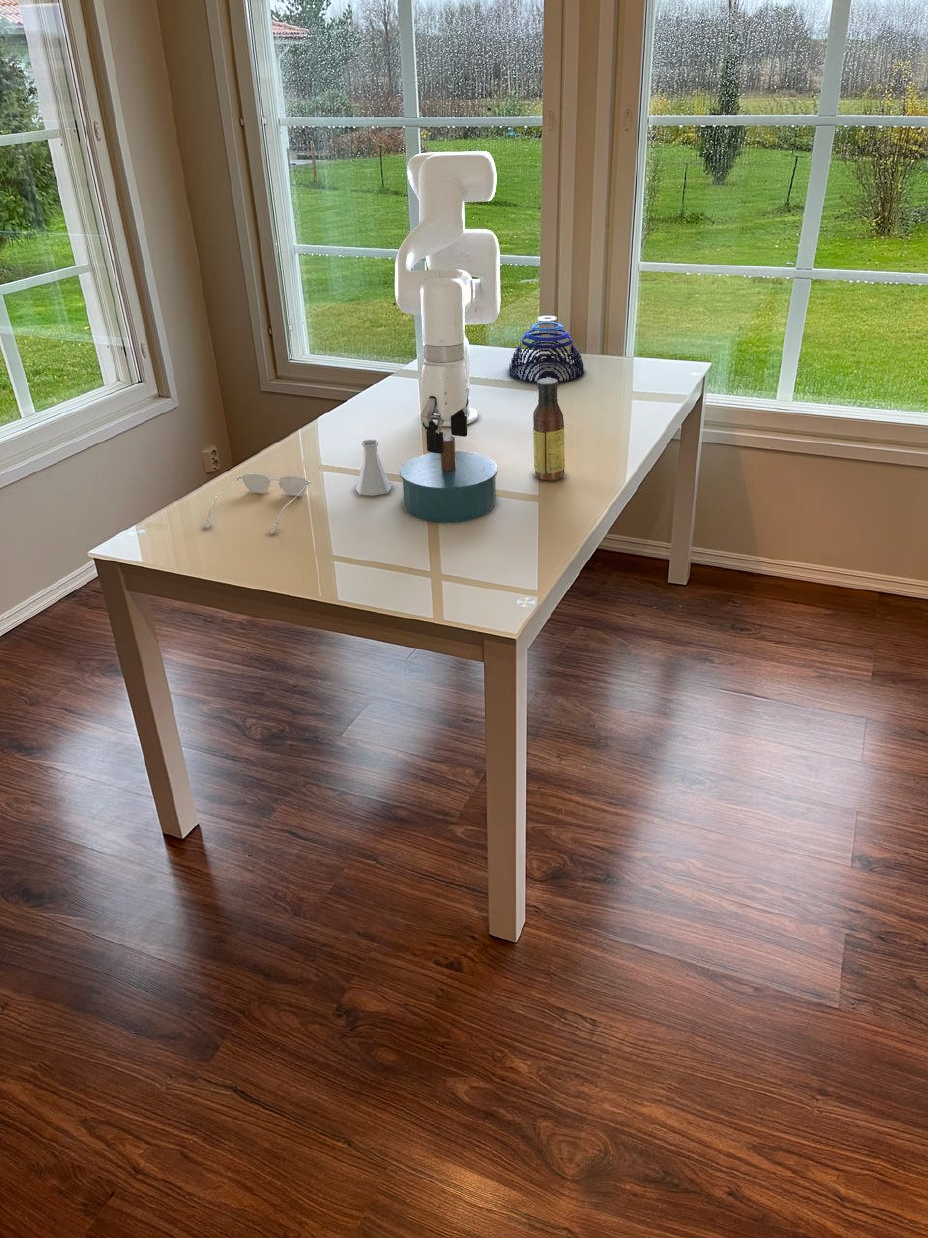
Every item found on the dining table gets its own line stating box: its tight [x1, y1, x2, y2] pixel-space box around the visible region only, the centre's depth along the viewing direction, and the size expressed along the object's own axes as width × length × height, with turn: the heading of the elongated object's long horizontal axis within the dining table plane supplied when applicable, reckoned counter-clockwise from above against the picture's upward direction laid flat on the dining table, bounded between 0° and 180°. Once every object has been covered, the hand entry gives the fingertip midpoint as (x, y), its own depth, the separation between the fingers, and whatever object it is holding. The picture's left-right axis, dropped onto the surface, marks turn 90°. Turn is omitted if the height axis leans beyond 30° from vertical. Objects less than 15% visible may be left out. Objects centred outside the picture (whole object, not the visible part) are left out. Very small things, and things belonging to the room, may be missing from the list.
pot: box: [402, 476, 497, 523], centre depth 182 cm, size 18×18×6 cm
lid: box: [399, 435, 498, 491], centre depth 179 cm, size 19×19×7 cm
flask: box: [355, 439, 392, 497], centre depth 188 cm, size 7×7×10 cm
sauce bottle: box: [532, 377, 566, 482], centre depth 189 cm, size 7×6×20 cm
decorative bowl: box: [508, 315, 585, 384], centre depth 253 cm, size 20×20×14 cm
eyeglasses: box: [205, 472, 312, 534], centre depth 182 cm, size 15×18×4 cm
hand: (447, 443), depth 177 cm, fingers open, 9 cm apart
